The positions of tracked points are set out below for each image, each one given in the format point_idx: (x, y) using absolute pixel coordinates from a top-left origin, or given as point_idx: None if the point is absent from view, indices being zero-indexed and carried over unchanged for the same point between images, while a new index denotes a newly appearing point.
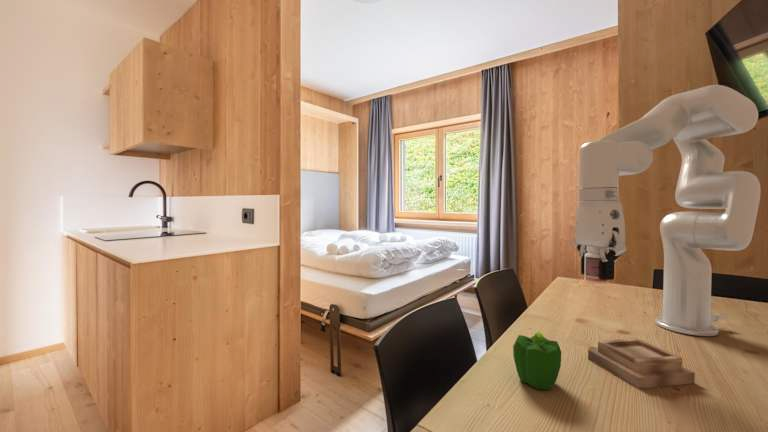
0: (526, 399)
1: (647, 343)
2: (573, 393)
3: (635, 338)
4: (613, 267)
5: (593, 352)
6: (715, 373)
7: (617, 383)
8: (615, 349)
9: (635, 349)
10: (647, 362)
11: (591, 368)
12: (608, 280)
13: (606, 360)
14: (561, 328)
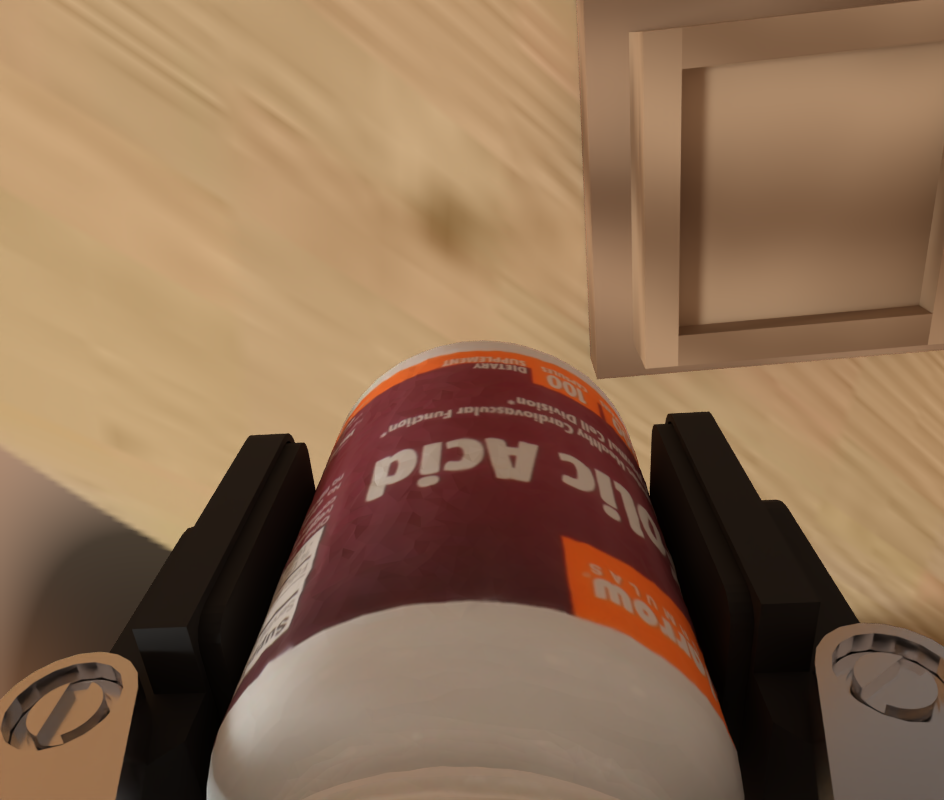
0: None
1: (750, 30)
2: (867, 605)
3: (646, 47)
4: (835, 585)
5: (637, 373)
6: None
7: (853, 388)
8: (784, 352)
9: (756, 163)
10: None
11: (694, 409)
12: (618, 418)
13: (737, 365)
14: (88, 223)
